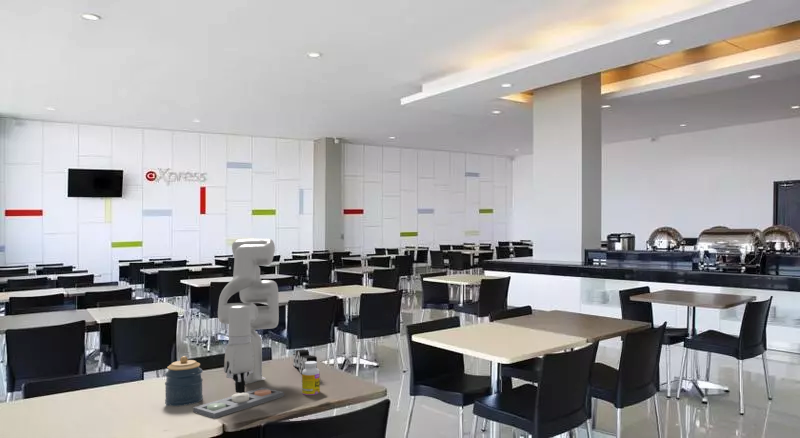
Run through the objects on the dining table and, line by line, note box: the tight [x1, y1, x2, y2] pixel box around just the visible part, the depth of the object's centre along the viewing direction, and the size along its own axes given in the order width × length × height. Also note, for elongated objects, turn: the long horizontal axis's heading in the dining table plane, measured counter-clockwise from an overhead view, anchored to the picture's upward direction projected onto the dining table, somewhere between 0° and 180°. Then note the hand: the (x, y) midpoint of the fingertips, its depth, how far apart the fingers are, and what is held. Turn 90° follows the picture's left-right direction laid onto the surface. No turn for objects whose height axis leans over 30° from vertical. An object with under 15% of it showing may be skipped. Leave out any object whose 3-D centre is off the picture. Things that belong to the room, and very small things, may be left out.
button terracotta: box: [254, 389, 271, 397], centre depth 208 cm, size 6×6×3 cm
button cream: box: [231, 392, 249, 403], centre depth 200 cm, size 6×6×3 cm
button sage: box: [207, 403, 226, 411], centre depth 192 cm, size 6×6×3 cm
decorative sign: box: [292, 349, 318, 375], centre depth 250 cm, size 32×4×10 cm, turn 21°
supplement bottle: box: [301, 361, 321, 396], centre depth 213 cm, size 7×7×13 cm
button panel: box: [192, 387, 285, 419], centre depth 200 cm, size 30×12×3 cm, turn 143°
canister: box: [164, 355, 204, 407], centre depth 206 cm, size 13×13×18 cm
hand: (240, 392), depth 200 cm, fingers closed
